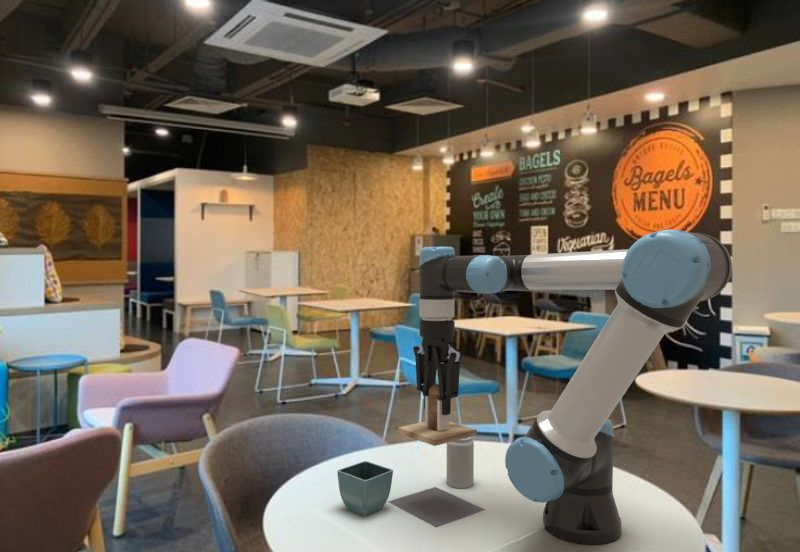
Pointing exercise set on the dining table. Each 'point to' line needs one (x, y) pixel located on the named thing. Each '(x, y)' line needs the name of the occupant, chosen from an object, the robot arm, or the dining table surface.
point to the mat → (436, 506)
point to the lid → (431, 432)
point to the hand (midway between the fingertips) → (437, 427)
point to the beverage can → (460, 463)
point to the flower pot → (365, 487)
